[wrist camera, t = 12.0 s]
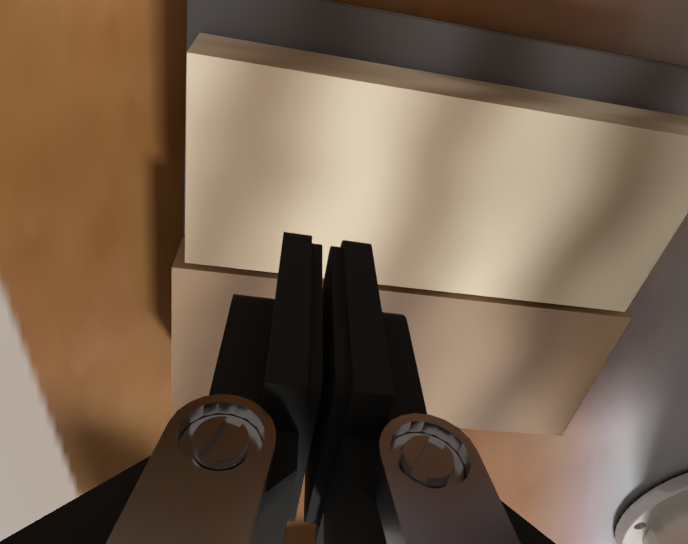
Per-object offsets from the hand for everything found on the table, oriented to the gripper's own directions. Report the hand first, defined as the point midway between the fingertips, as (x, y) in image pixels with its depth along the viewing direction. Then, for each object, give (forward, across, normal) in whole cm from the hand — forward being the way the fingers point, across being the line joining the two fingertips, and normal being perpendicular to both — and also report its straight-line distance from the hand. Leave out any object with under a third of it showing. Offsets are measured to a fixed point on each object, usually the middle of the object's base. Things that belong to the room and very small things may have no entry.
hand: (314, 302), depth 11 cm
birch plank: (+12, -5, +2) cm, 13 cm away
